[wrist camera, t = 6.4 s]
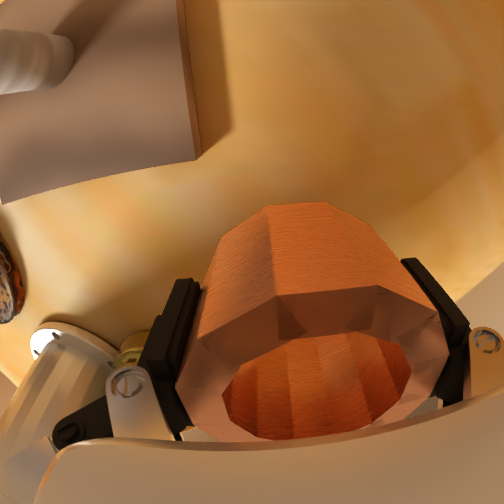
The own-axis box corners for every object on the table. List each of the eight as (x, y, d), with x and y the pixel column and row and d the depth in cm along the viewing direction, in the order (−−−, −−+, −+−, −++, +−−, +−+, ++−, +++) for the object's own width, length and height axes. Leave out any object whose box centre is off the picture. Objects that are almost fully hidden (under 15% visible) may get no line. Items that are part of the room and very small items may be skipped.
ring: (373, 345, 13) (406, 435, 8) (222, 360, 13) (211, 458, 8) (393, 197, 9) (479, 269, 5) (190, 213, 10) (139, 303, 5)
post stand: (202, 154, 14) (157, 193, 8) (15, 196, 15) (-49, 239, 10) (178, -72, 7) (136, -131, 2) (-4, 20, 9) (-70, 21, 3)
